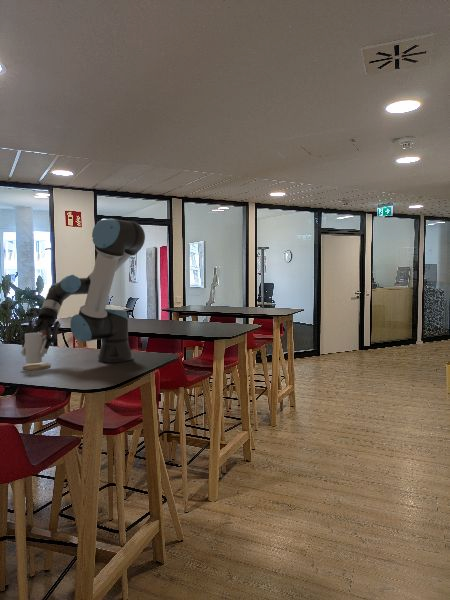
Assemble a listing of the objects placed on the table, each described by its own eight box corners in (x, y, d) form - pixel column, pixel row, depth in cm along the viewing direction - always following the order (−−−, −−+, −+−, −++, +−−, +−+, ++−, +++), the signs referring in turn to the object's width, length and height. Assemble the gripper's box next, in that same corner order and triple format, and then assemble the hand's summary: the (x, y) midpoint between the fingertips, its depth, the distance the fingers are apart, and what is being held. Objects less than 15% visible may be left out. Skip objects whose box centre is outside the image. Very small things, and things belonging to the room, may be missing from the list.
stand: (56, 366, 197) (55, 364, 197) (32, 371, 188) (32, 368, 188) (40, 363, 203) (40, 361, 203) (17, 368, 194) (17, 365, 194)
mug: (29, 364, 189) (28, 335, 189) (22, 361, 194) (22, 333, 193) (52, 361, 197) (52, 333, 196) (45, 358, 201) (45, 331, 200)
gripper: (73, 317, 209) (58, 359, 194) (30, 317, 211) (12, 359, 196) (68, 306, 203) (52, 349, 188) (24, 306, 205) (5, 349, 190)
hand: (32, 354), depth 192 cm, fingers closed on mug, 7 cm apart
